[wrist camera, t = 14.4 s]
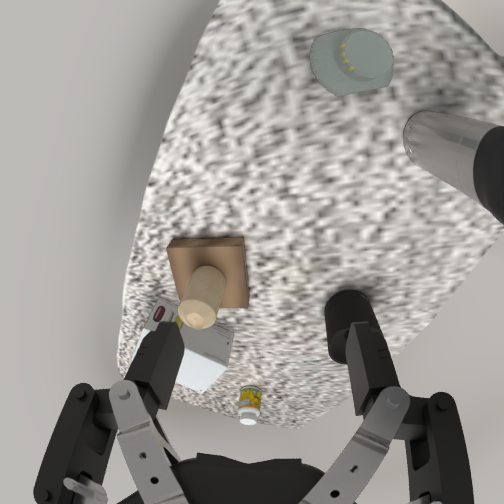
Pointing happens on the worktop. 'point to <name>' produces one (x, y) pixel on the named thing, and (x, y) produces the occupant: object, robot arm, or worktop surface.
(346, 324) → the pen holder
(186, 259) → the walnut pedestal
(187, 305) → the candle
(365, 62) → the air freshener
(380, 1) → the worktop surface
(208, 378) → the supplement box
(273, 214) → the worktop surface
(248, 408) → the supplement bottle
